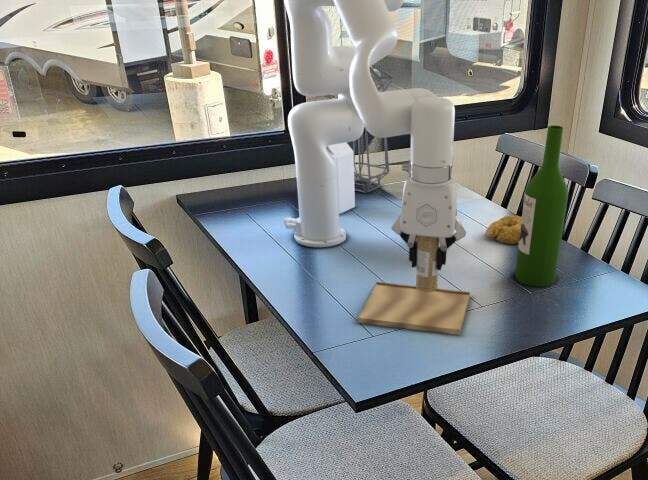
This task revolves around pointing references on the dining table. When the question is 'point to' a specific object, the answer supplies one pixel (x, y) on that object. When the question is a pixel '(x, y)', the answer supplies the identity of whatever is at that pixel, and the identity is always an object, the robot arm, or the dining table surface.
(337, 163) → the milk carton
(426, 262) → the sprinkles bottle
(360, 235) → the dining table surface
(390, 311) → the board
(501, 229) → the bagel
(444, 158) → the robot arm
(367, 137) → the geometric lantern
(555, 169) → the wine bottle
